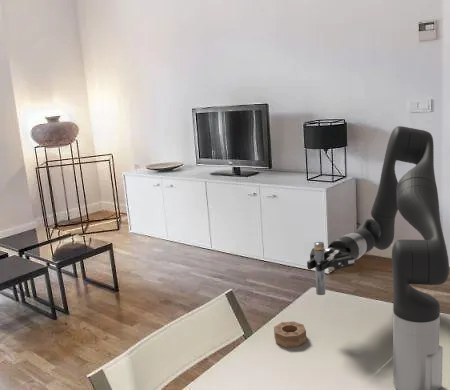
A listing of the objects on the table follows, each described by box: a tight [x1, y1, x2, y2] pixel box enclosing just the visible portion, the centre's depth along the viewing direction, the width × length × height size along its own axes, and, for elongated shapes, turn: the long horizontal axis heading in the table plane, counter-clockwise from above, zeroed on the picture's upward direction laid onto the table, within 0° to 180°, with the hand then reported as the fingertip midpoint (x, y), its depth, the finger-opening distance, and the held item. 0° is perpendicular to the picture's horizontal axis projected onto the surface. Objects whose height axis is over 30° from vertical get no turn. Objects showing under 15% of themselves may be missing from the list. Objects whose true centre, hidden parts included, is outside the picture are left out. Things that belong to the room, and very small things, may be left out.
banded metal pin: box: [313, 241, 326, 296], centre depth 130 cm, size 3×3×14 cm
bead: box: [273, 320, 307, 348], centre depth 131 cm, size 8×8×3 cm
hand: (313, 266), depth 127 cm, fingers closed on banded metal pin, 2 cm apart
